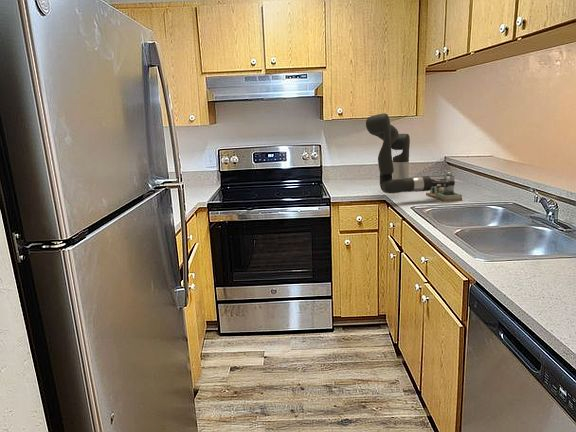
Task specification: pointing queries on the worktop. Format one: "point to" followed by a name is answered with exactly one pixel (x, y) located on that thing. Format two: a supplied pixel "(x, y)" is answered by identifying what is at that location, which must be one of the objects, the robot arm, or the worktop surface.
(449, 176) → the grey bottle
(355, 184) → the worktop surface
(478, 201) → the worktop surface
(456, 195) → the hub seat
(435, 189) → the shaft and pillow blocks
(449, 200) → the base board
